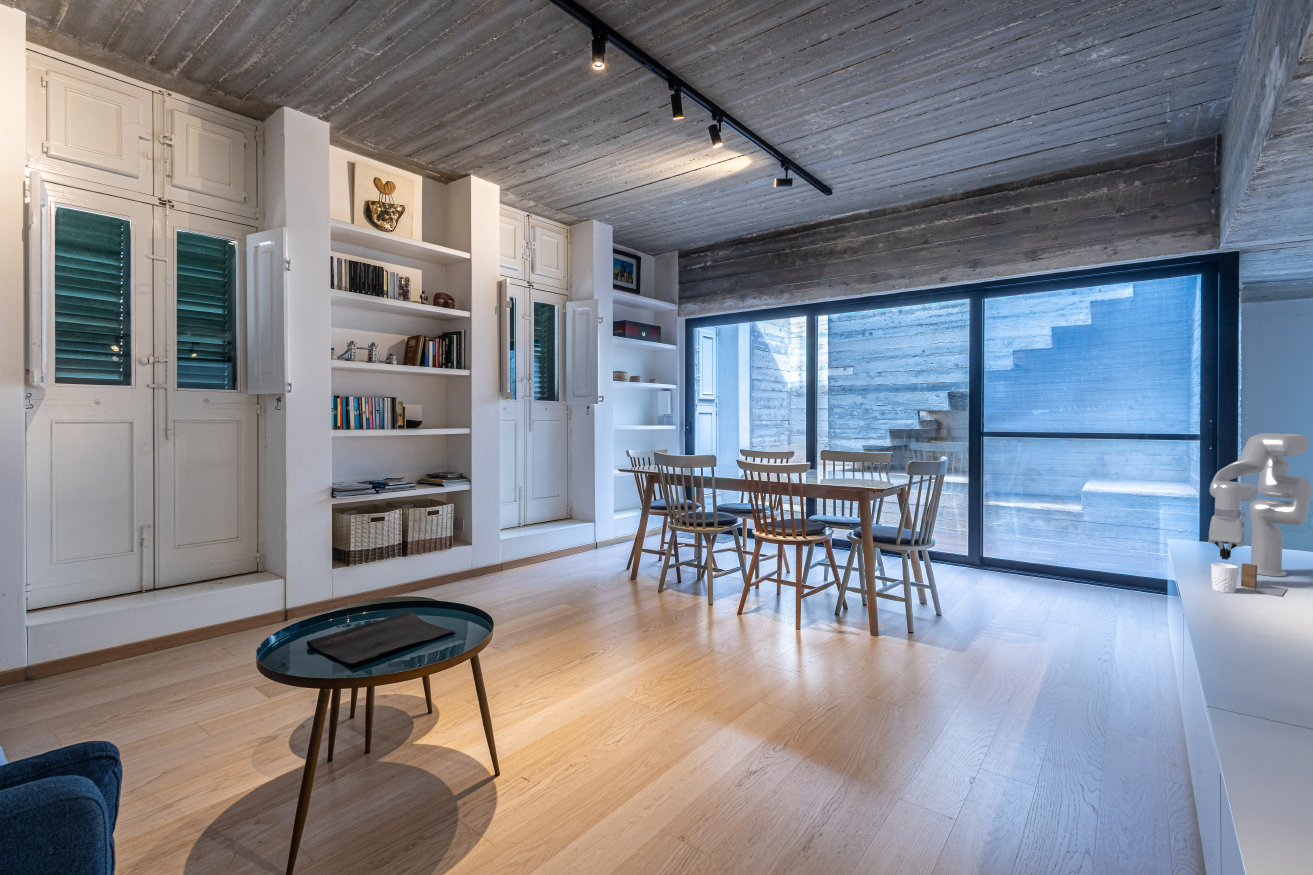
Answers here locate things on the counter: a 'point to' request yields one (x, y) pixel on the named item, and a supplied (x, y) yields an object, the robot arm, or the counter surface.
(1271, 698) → the counter surface
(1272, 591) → the mat
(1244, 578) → the block
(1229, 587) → the white cup
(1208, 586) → the counter surface
